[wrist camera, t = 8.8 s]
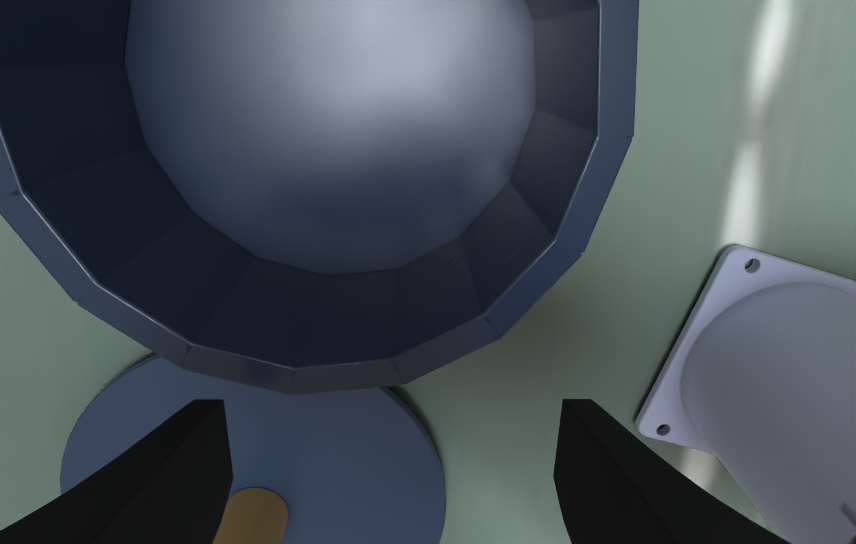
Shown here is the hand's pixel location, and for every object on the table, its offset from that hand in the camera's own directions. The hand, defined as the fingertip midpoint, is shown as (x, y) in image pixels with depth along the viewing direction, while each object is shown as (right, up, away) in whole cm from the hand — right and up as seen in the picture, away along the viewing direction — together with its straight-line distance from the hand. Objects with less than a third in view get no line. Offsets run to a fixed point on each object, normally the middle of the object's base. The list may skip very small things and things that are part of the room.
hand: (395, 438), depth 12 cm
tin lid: (-6, -5, +10) cm, 13 cm away
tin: (-2, +9, +5) cm, 11 cm away
